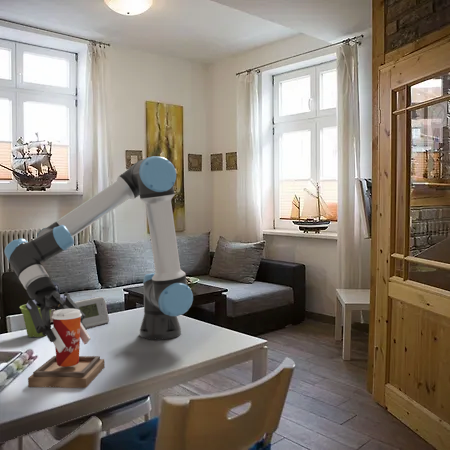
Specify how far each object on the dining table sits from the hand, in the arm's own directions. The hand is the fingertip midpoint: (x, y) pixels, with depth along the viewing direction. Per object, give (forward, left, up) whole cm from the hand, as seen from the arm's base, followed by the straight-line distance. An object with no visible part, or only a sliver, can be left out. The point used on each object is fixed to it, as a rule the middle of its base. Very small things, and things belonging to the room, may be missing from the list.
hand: (75, 345), depth 139 cm
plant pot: (+31, -44, -10) cm, 54 cm away
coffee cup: (+3, -2, -6) cm, 7 cm away
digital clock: (+15, -57, -10) cm, 60 cm away
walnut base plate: (+3, -2, -10) cm, 10 cm away
